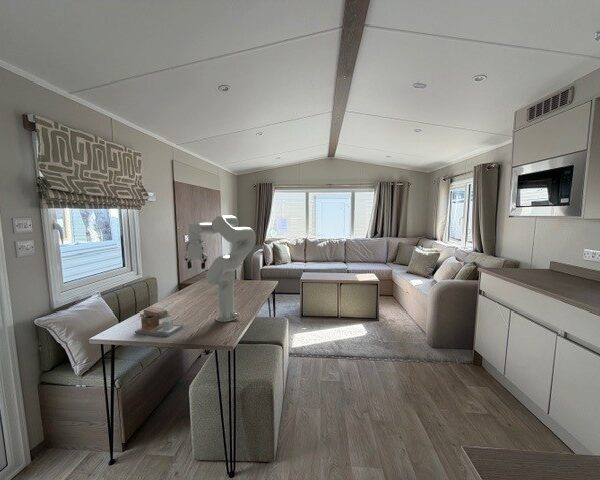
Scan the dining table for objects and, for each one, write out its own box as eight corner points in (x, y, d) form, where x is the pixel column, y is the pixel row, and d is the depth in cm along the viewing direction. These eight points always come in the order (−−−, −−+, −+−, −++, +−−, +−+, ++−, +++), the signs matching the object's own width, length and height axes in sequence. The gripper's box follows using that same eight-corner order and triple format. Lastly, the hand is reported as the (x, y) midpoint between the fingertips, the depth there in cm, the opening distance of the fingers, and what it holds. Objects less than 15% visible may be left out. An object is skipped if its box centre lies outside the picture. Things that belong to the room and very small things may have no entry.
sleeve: (159, 325, 163) (158, 315, 162) (151, 329, 157) (150, 318, 156) (149, 325, 164) (149, 314, 163) (141, 329, 158) (141, 318, 157)
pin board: (182, 328, 163) (182, 317, 162) (168, 336, 151) (167, 325, 151) (151, 325, 167) (150, 315, 167) (135, 334, 155) (134, 322, 155)
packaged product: (170, 308, 184) (155, 313, 176) (171, 316, 185) (155, 321, 176) (154, 304, 194) (139, 308, 186) (154, 311, 195) (139, 315, 186)
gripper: (210, 241, 191) (211, 267, 193) (186, 241, 195) (187, 267, 196) (204, 242, 184) (205, 269, 185) (179, 242, 188) (181, 269, 189)
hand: (196, 268), depth 191 cm, fingers open, 9 cm apart
